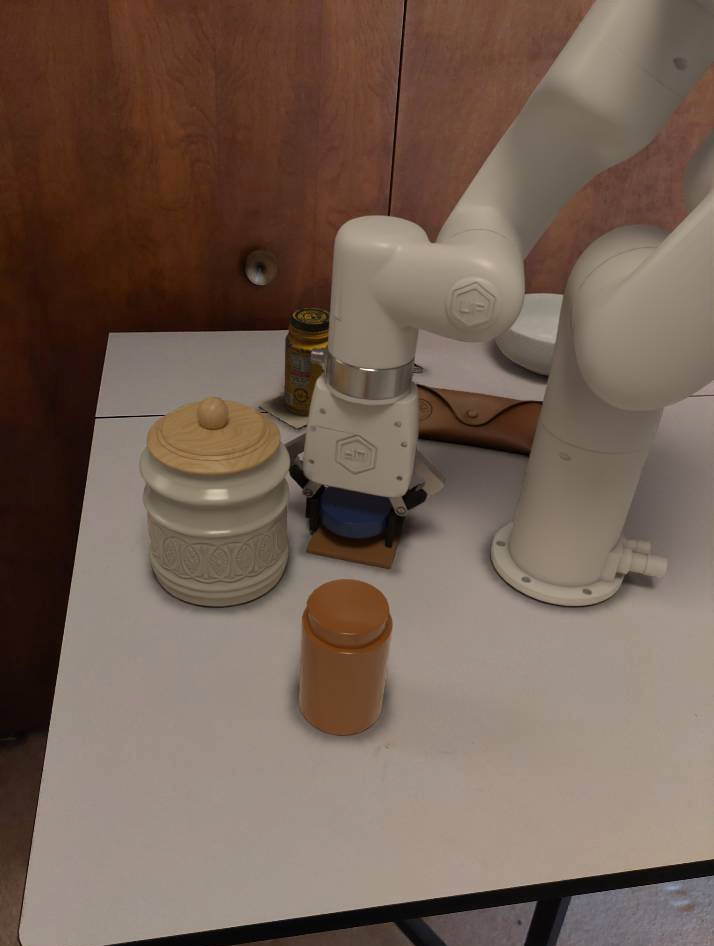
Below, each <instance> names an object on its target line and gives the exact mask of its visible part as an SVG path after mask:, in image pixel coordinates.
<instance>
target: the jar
mask: <svg viewBox="0 0 714 946" xmlns="http://www.w3.org/2000/svg"><path fill="white" fill-rule="evenodd" d="M281 438H282V436H281V431H280V429H279V426H278V425H277V424H276V422H275V421H273V420H272V418H271V417H269V416H268V415H267V414H264V413H263V412H261V411H259V410H256V409H253V408H252V407H250V406H248V405H246V404H243V403H240V402H237V401H231V400H223V399H222V398H220V397H218V396H209V397H205V398H204V399H202V400H199V401H194V402H190V403H186V404H183V405H181V406H179V407H177V408H175V409H174V410H172V411H170V412H168V413H166V414H164V415H163V416H162V417H160V418H159V419H157V420H156V421H155V422H154V423H153V424H152V425H151V426H150V428H149V430H148V432H147V435H146V447H145V448H144V449H143V451H142V452H141V455H140V458H139V463H138V467H139V473H140V475H141V478H142V479H143V481H144V482H145V485H144V488H143V492H142V502H143V506H144V508H145V511H146V516H147V517H146V518H147V525H148V533H149V549H148V551H149V557H150V564H151V567H152V570H153V571H154V574H155V577H156V579H157V581H158V583H159V584H160V586H161V587H162V588H163V589H164V590H165V591H166V592H168V593H169V594H170V595H172V596H174V597H175V598H177V599H179V600H182V601H184V602H186V603H190V604H194V605H199V606H206V607H227V606H228V607H229V606H236V605H240V604H244V603H247V602H251V601H252V600H255V599H257V598H259V597H261V596H263V595H265V594H266V593H268V592H269V591H271V589H273V588H274V587H275V586H276V585H277V584H278V583H279V581H280V579H281V578H282V576H283V575H284V572H285V569H286V566H287V562H288V559H289V547H290V546H289V537H288V504H289V501H290V493H291V492H290V486H289V482H288V481H287V478H286V477H287V475H288V474H289V467H290V456H289V453H288V451H287V449H286V447H285V446H284V444H285V443H283V442H282V441H281V440H282V439H281Z"/></svg>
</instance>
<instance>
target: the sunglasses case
mask: <svg viewBox="0 0 714 946" xmlns="http://www.w3.org/2000/svg"><path fill="white" fill-rule="evenodd" d="M414 383H415V382H414ZM415 384H416V385H417V388H418V397H419V433H418V438H423V439H428V440H435V441H440V442H448V443H453V444H460V445H466V446H471V447H475V448H483V449H488V450H494V451H501V452H508V453H517V454H527V455H530V453H531V448H532V444H533V440H534V436H535V432H536V427H537V423H538V419H539V415H540V412H541V408H542V404H543V401H540V400H533V399H532V400H531V399H529V400H528V399H526V400H525V399H523V400H522V399H516V398H510V397H504V396H498V395H493V394H486V393H480V392H473V391H472V392H471V391H463V390H458V389H457V390H455V389H448V388H440V387H439V388H438V387H433V386H428V385H425V384H422V383H415Z"/></svg>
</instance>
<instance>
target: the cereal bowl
mask: <svg viewBox="0 0 714 946" xmlns="http://www.w3.org/2000/svg"><path fill="white" fill-rule="evenodd" d="M563 295H564V294H559V293H549V292H548V293H545V292H541V293H539V292H538V293H525V297H524V303H523V307H522V310H521V312H520V315H519V317H518V318H517V320H516V322H515V323H514V324H513V325H512V327H511V328H510V329H509V330H507V331H506V332H505V333H504V334H502V335H501V336H499V337H497V338H495V339H494V341H495V342H496V345H497V346H498V347H497V348H498V349H499V350H500V351H501V352H502V353H503V355H504V356H505V357H506V358H508V359H509V360H510V361H512V362H513V363H515V364H516V365H519V366H521V367H523V368H524V369H526V370H527V371H529V372H532V373H534V374H537V375H541V376H547V377H549V373H550V368H551V363H552V358H553V353H554V348H555V342H556V336H557V330H558V323H559V317H560V311H561V306H562V301H563Z"/></svg>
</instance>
